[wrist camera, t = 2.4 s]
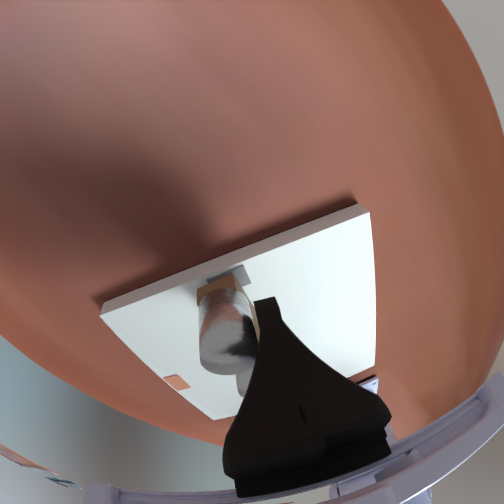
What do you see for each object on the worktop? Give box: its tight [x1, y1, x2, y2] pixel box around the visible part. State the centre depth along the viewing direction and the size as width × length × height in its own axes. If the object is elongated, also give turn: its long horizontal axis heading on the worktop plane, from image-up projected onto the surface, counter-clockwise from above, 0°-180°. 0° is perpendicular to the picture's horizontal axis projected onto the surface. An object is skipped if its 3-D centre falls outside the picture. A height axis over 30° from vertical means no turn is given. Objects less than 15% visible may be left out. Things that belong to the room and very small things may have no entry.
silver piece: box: [197, 273, 260, 398], centre depth 14 cm, size 11×5×4 cm, turn 23°
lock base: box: [99, 203, 376, 420], centre depth 18 cm, size 16×16×1 cm
